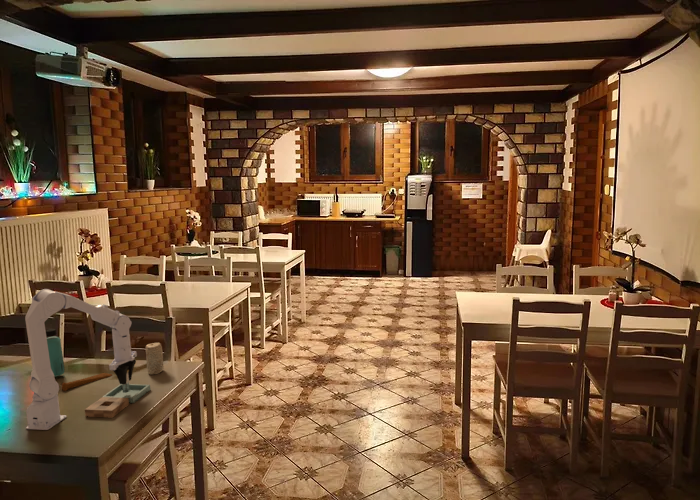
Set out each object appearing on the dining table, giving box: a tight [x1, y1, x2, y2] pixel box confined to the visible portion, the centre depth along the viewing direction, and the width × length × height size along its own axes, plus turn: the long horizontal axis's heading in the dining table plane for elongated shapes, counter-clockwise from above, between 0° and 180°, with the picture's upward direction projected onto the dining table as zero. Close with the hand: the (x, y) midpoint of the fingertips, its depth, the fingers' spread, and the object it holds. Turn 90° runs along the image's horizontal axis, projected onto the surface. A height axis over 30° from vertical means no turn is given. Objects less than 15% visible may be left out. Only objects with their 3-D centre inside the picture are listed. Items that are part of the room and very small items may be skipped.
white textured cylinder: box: [145, 342, 164, 376], centre depth 219 cm, size 6×8×12 cm
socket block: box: [84, 396, 130, 419], centre depth 186 cm, size 10×10×2 cm
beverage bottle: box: [45, 328, 66, 377], centre depth 217 cm, size 6×7×20 cm
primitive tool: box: [61, 372, 113, 392], centre depth 212 cm, size 19×6×4 cm, turn 149°
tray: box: [102, 383, 151, 404], centre depth 197 cm, size 12×12×2 cm
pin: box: [122, 369, 130, 393], centre depth 197 cm, size 3×3×8 cm
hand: (125, 381), depth 197 cm, fingers closed on pin, 3 cm apart
